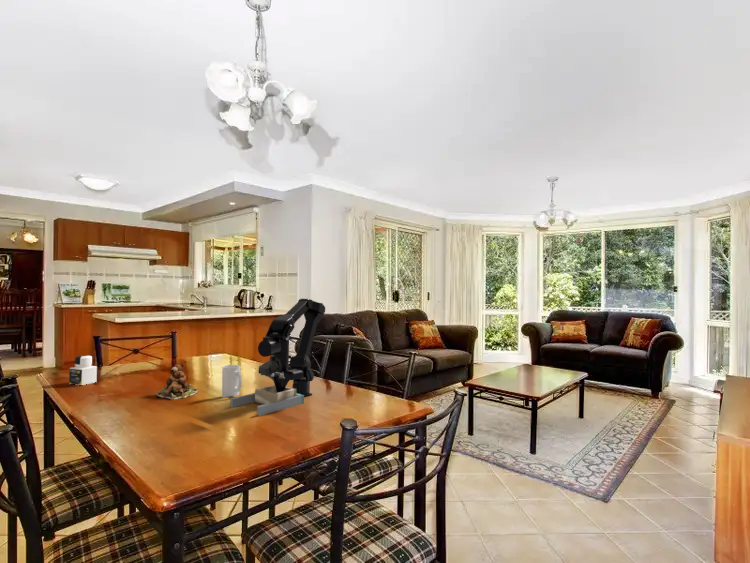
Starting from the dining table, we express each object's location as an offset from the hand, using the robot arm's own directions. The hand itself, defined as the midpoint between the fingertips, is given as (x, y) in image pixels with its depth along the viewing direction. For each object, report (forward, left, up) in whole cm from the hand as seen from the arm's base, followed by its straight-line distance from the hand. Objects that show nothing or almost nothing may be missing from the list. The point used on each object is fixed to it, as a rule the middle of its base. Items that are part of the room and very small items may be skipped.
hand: (279, 395), depth 154 cm
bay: (+5, 0, -4) cm, 6 cm away
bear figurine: (+17, -42, -4) cm, 45 cm away
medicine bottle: (+33, -89, -4) cm, 95 cm away
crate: (+2, 0, -2) cm, 3 cm away
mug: (+5, -21, -4) cm, 22 cm away
